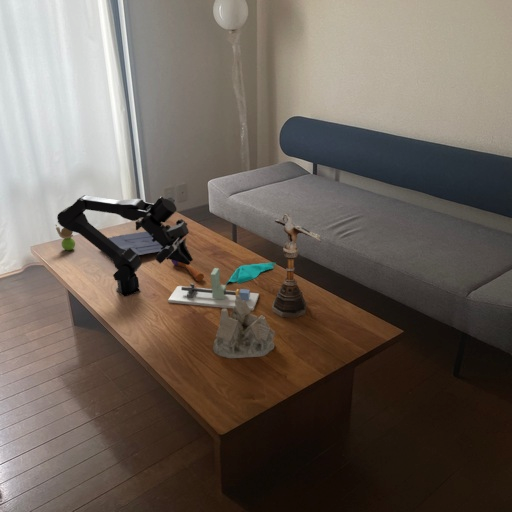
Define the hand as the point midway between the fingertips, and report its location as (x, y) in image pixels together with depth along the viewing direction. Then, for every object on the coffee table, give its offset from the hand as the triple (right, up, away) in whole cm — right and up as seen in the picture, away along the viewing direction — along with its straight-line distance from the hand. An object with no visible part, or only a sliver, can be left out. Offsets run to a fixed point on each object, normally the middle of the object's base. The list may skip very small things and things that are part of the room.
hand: (190, 262), depth 175 cm
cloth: (+20, -5, +23) cm, 31 cm away
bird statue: (+35, -15, 0) cm, 38 cm away
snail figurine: (-57, +5, +43) cm, 72 cm away
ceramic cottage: (+18, -25, -21) cm, 38 cm away
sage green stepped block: (+9, -12, +3) cm, 16 cm away
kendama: (-4, -4, +24) cm, 25 cm away
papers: (-26, +5, +45) cm, 52 cm away
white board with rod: (+8, -13, +4) cm, 16 cm away
